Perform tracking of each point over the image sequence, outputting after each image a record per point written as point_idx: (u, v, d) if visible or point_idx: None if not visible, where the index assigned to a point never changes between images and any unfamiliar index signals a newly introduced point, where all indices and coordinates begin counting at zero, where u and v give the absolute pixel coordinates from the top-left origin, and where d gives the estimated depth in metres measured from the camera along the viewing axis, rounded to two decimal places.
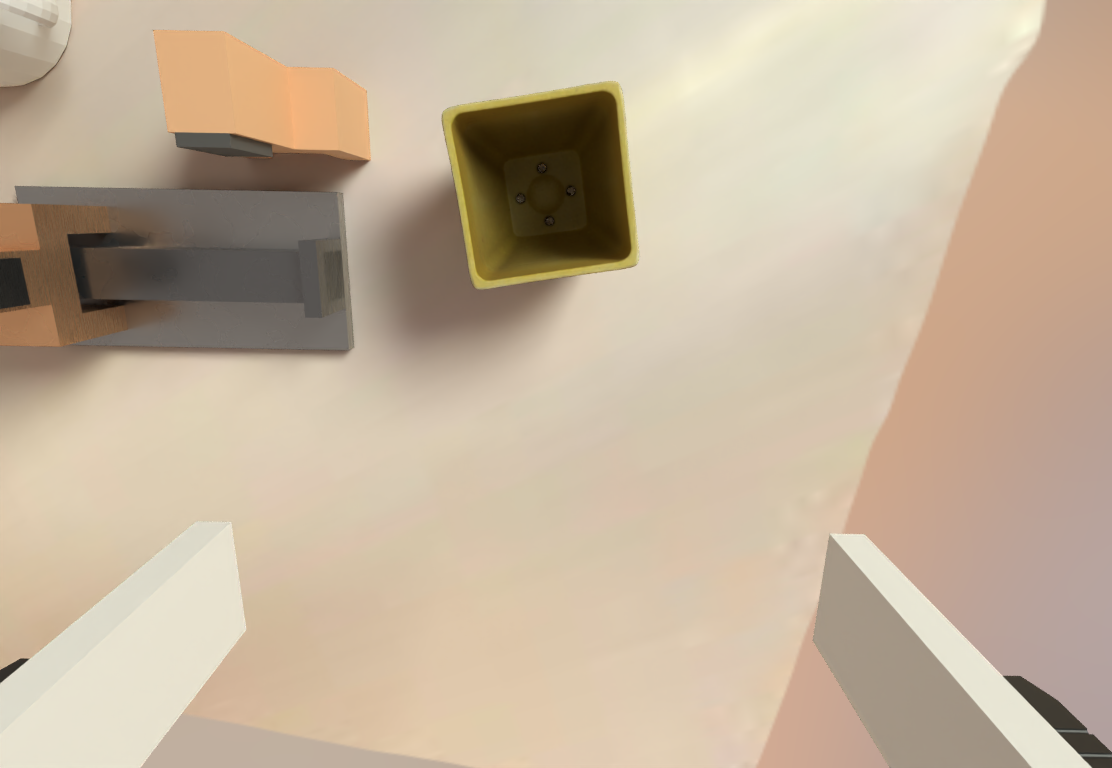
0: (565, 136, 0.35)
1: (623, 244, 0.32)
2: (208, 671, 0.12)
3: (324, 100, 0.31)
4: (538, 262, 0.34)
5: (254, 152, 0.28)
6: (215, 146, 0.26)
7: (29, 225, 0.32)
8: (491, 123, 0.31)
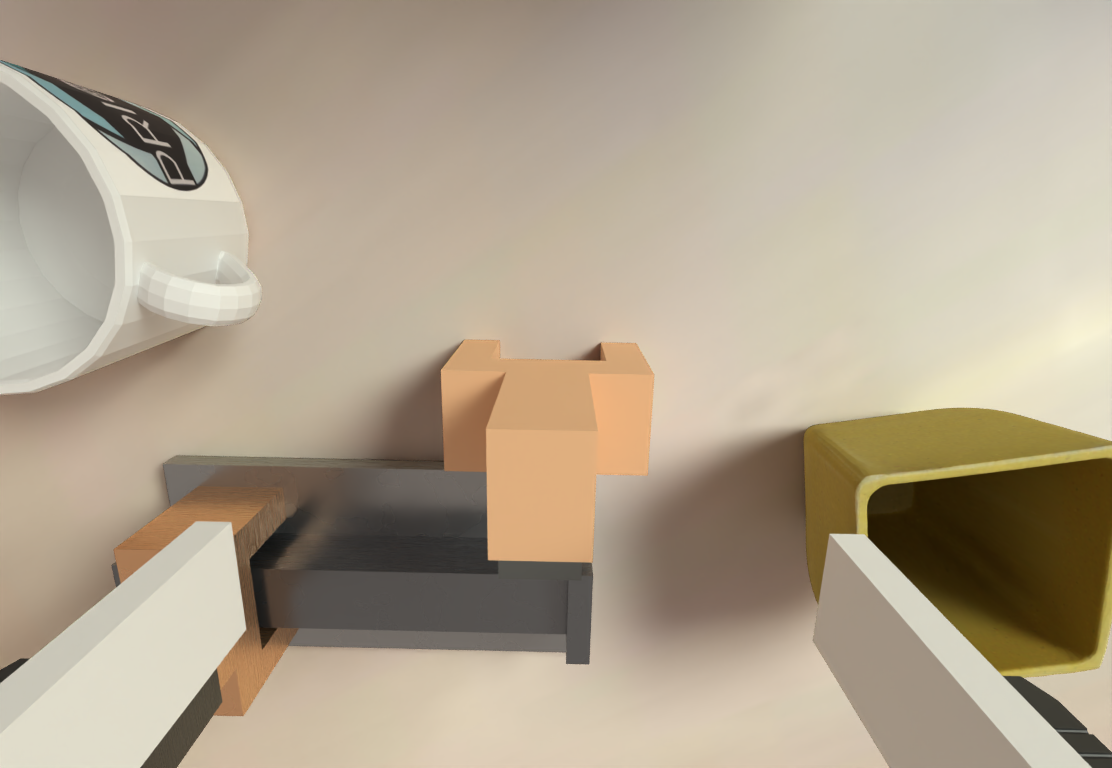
0: None
1: (1045, 607, 0.23)
2: (208, 671, 0.12)
3: (635, 415, 0.22)
4: None
5: None
6: (558, 579, 0.17)
7: None
8: None
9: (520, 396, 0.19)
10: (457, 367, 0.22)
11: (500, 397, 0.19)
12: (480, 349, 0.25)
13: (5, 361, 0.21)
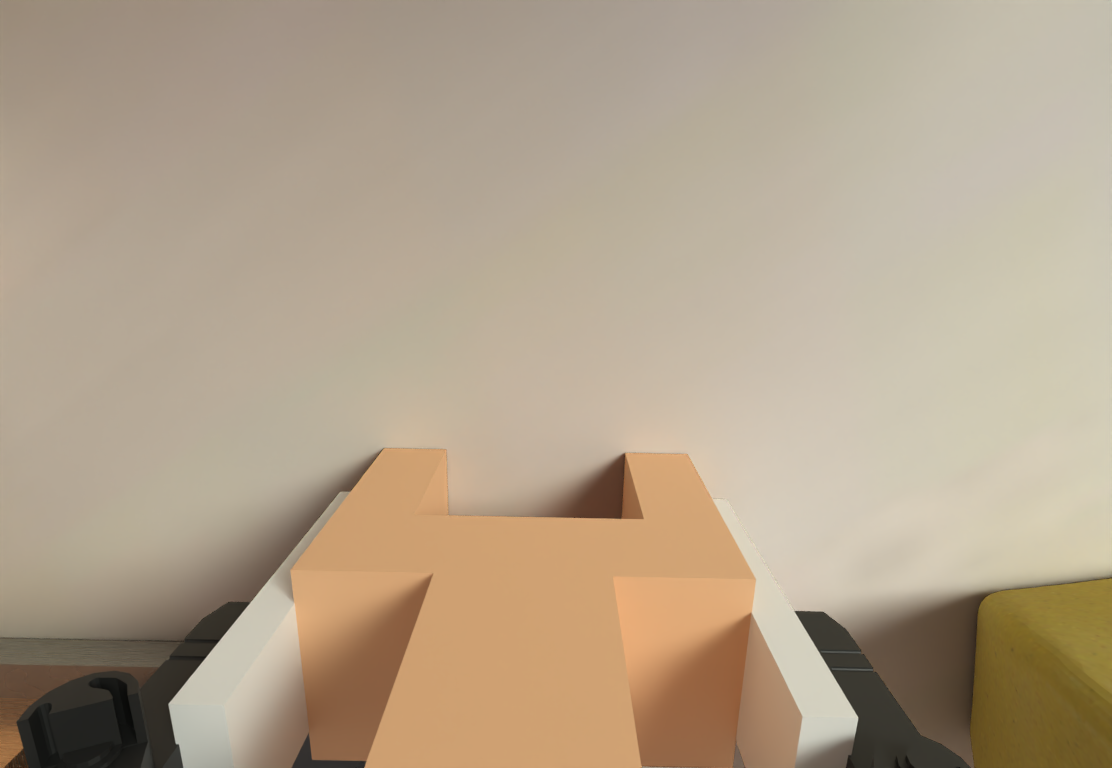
0: None
1: None
2: None
3: (712, 657, 0.10)
4: None
5: None
6: None
7: None
8: None
9: (441, 722, 0.07)
10: (333, 553, 0.10)
11: (387, 728, 0.07)
12: (401, 481, 0.13)
13: None
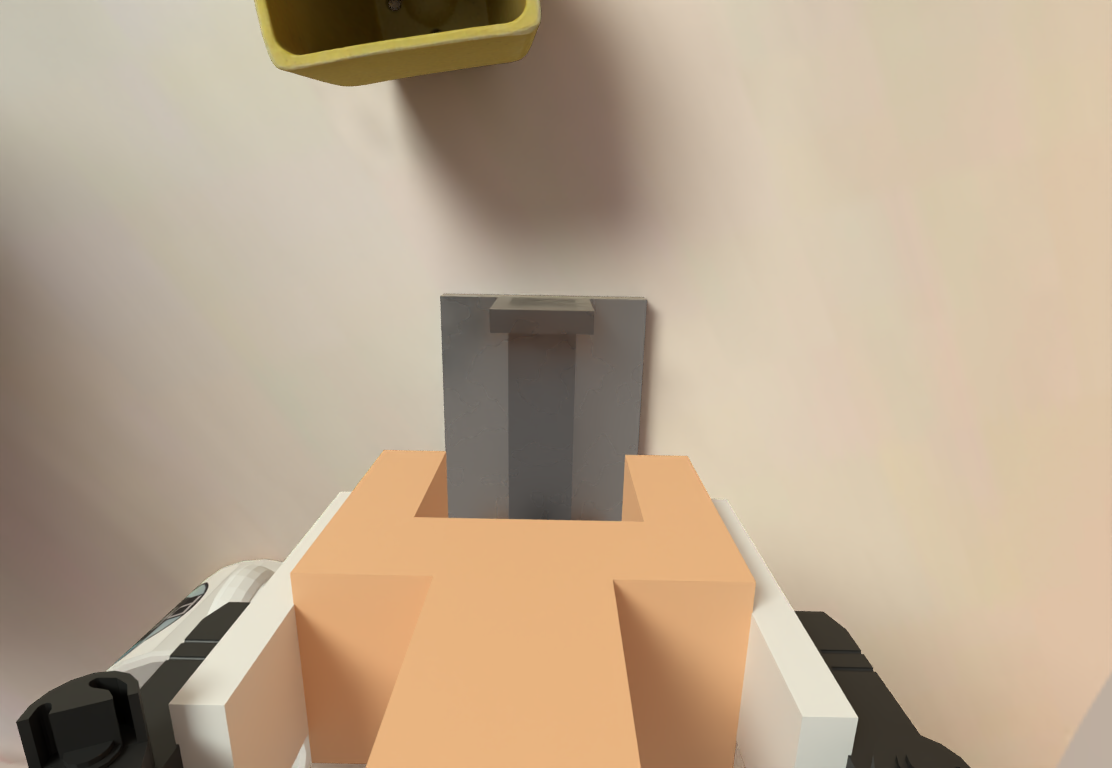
0: None
1: None
2: None
3: (712, 660, 0.10)
4: None
5: None
6: None
7: None
8: (309, 27, 0.21)
9: (441, 727, 0.07)
10: (333, 556, 0.10)
11: (386, 733, 0.07)
12: (401, 484, 0.13)
13: None
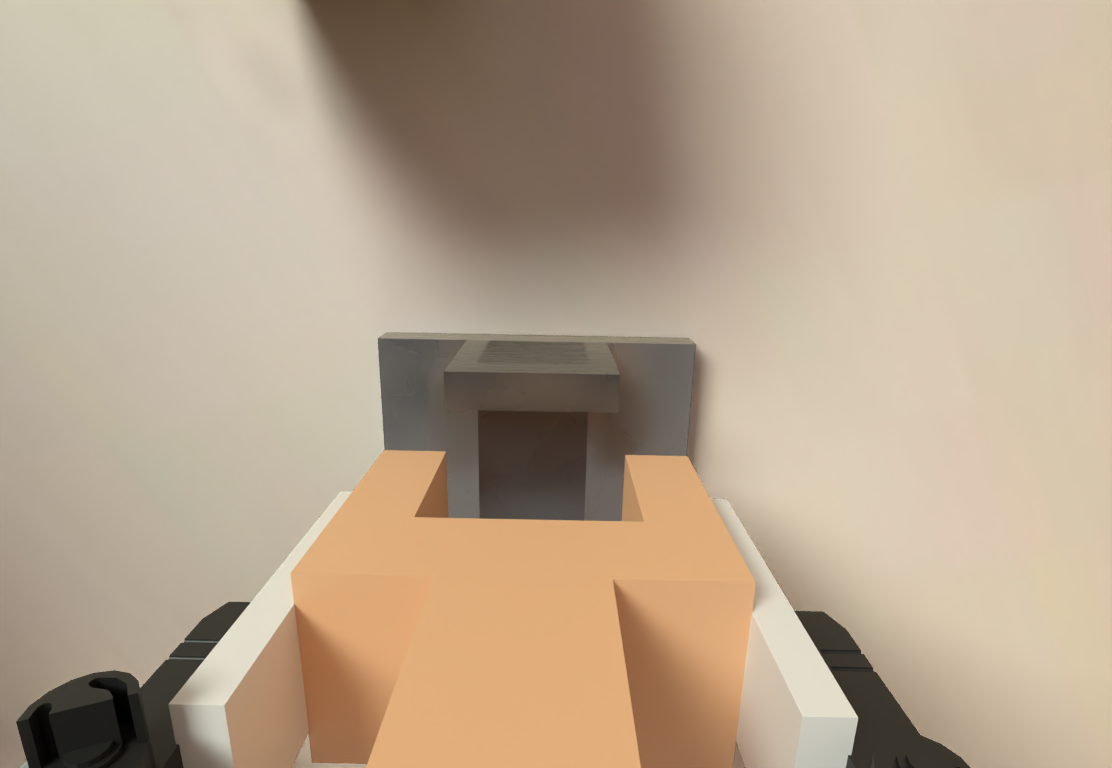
0: None
1: None
2: None
3: (712, 660, 0.10)
4: None
5: None
6: None
7: None
8: None
9: (442, 727, 0.07)
10: (333, 556, 0.10)
11: (387, 733, 0.07)
12: (401, 484, 0.13)
13: None
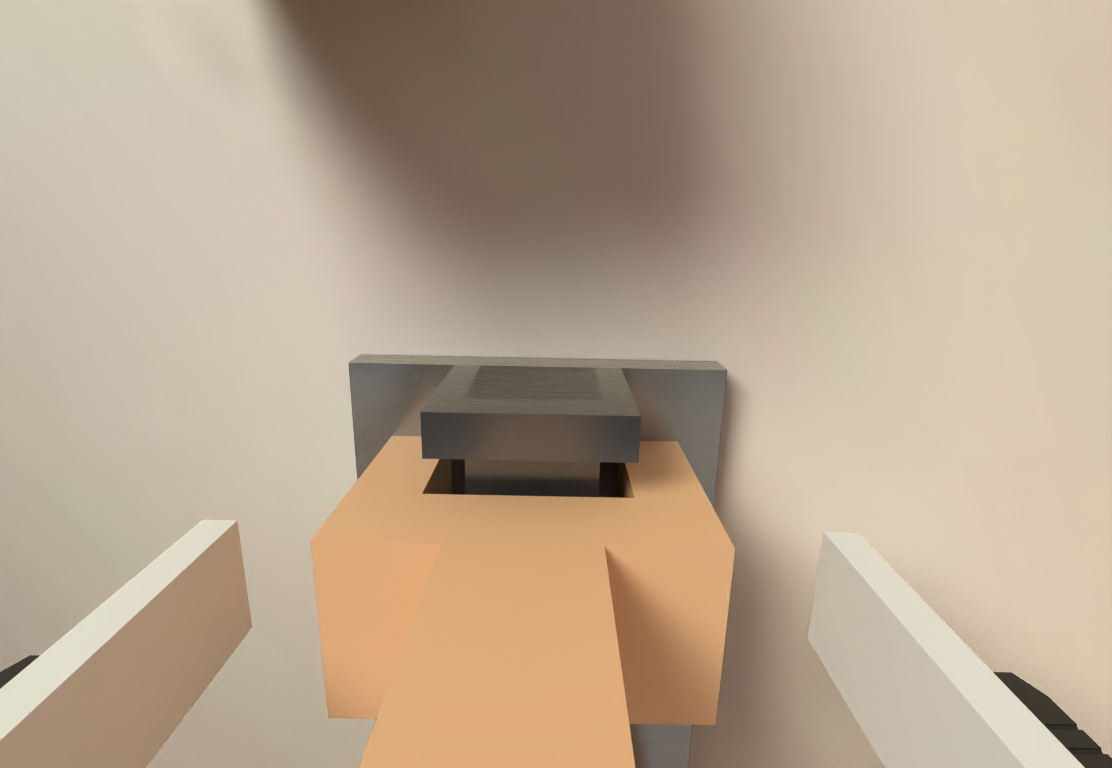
0: None
1: None
2: (215, 669, 0.12)
3: (696, 621, 0.11)
4: None
5: None
6: None
7: None
8: None
9: (450, 663, 0.08)
10: (349, 527, 0.11)
11: (403, 667, 0.08)
12: (409, 465, 0.14)
13: None
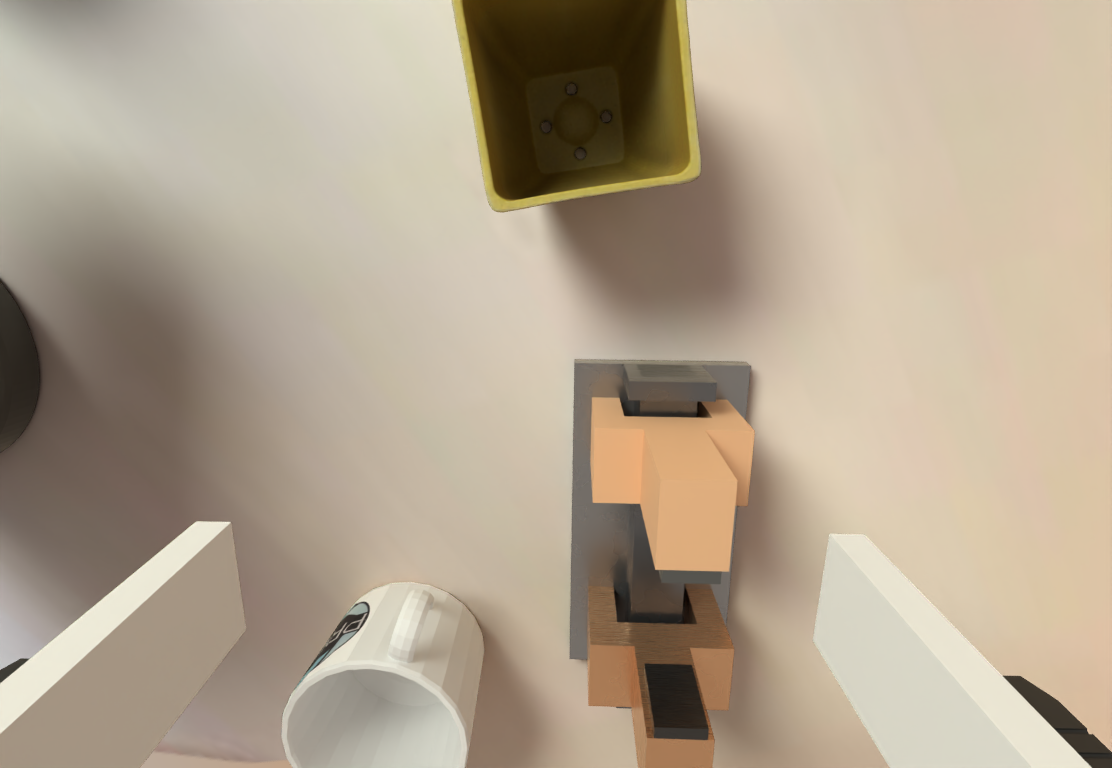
0: (511, 91, 0.30)
1: None
2: (208, 671, 0.12)
3: (739, 460, 0.29)
4: (662, 109, 0.27)
5: None
6: (704, 583, 0.24)
7: (610, 650, 0.32)
8: (502, 166, 0.27)
9: (667, 452, 0.26)
10: (604, 425, 0.30)
11: (653, 452, 0.26)
12: (610, 407, 0.32)
13: None
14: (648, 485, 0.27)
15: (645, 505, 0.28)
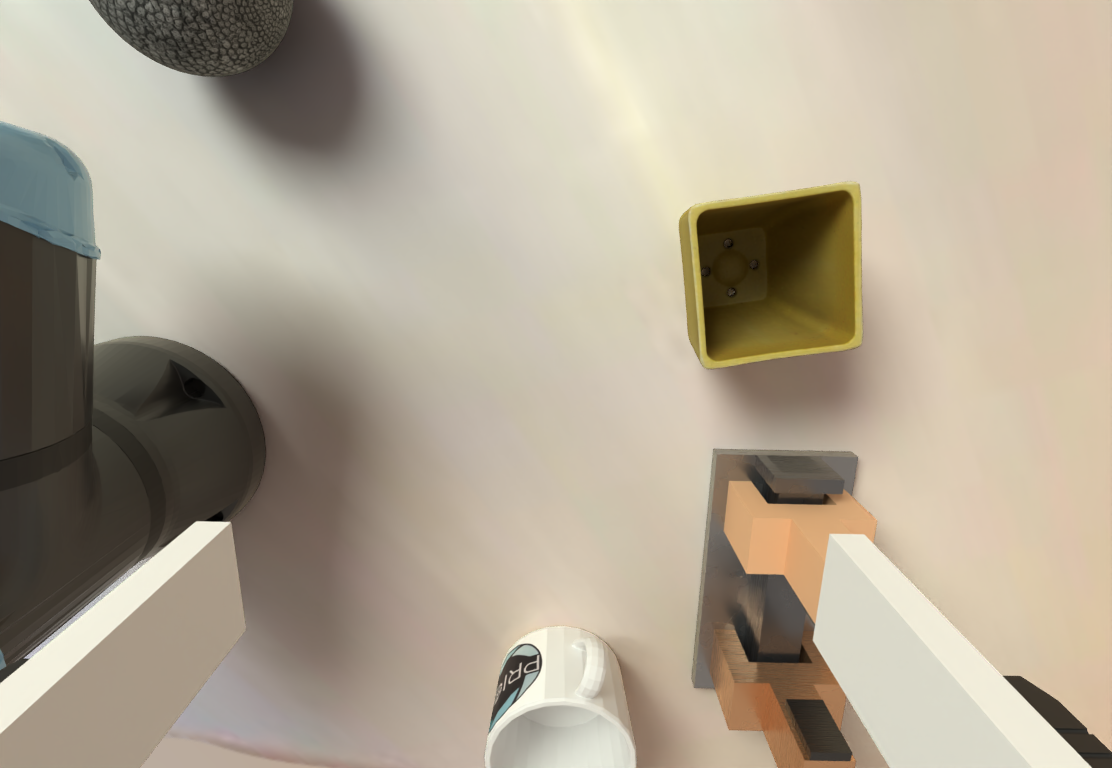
0: None
1: (821, 195, 0.32)
2: (208, 671, 0.12)
3: None
4: (818, 280, 0.35)
5: None
6: None
7: (750, 686, 0.41)
8: None
9: (823, 544, 0.34)
10: (758, 514, 0.38)
11: (813, 545, 0.34)
12: (751, 493, 0.41)
13: (623, 754, 0.43)
14: (804, 567, 0.35)
15: (797, 580, 0.36)
